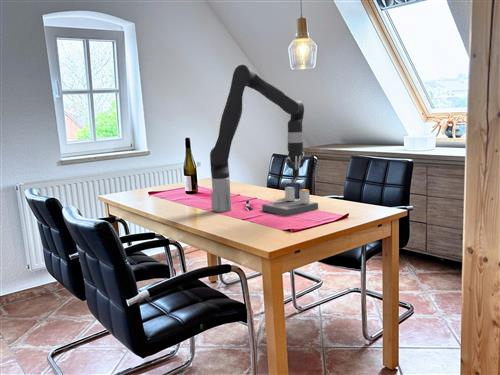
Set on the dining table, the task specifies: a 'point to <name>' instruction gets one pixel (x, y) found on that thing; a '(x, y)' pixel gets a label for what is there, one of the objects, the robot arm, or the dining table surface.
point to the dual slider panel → (289, 207)
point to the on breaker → (289, 194)
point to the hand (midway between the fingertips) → (295, 176)
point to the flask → (296, 187)
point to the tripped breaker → (304, 196)
